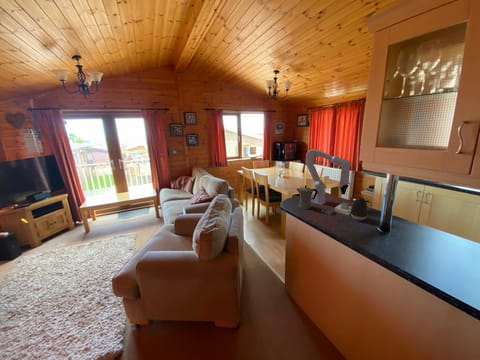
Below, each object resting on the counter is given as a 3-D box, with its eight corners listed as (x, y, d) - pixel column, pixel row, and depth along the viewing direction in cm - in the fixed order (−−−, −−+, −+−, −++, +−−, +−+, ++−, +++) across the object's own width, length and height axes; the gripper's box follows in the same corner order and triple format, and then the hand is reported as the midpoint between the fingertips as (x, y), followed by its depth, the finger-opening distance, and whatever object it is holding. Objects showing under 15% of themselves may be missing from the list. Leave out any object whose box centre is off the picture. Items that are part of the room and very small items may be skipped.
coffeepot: (295, 209, 154) (295, 186, 150) (296, 204, 163) (297, 183, 158) (316, 211, 149) (318, 188, 144) (316, 206, 158) (318, 184, 153)
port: (334, 211, 146) (334, 207, 146) (339, 207, 153) (340, 203, 152) (349, 215, 139) (349, 211, 138) (354, 211, 146) (354, 207, 145)
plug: (340, 211, 146) (341, 202, 144) (342, 210, 148) (343, 200, 146) (346, 213, 144) (347, 203, 142) (347, 211, 146) (348, 201, 144)
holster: (320, 212, 147) (320, 209, 146) (324, 209, 151) (324, 206, 150) (331, 215, 141) (331, 212, 141) (335, 212, 145) (335, 209, 144)
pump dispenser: (363, 223, 128) (366, 201, 124) (346, 218, 136) (349, 197, 132) (370, 218, 134) (373, 197, 130) (354, 213, 142) (356, 193, 138)
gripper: (346, 179, 142) (344, 197, 145) (354, 175, 151) (352, 192, 155) (336, 178, 147) (335, 195, 150) (344, 174, 156) (342, 190, 160)
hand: (343, 194), depth 153 cm, fingers closed
